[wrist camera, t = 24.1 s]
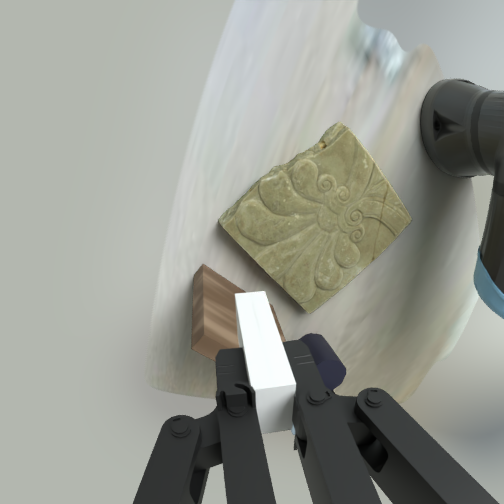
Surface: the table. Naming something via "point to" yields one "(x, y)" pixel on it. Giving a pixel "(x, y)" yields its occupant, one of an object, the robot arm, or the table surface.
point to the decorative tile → (318, 218)
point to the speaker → (325, 360)
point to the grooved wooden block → (216, 313)
